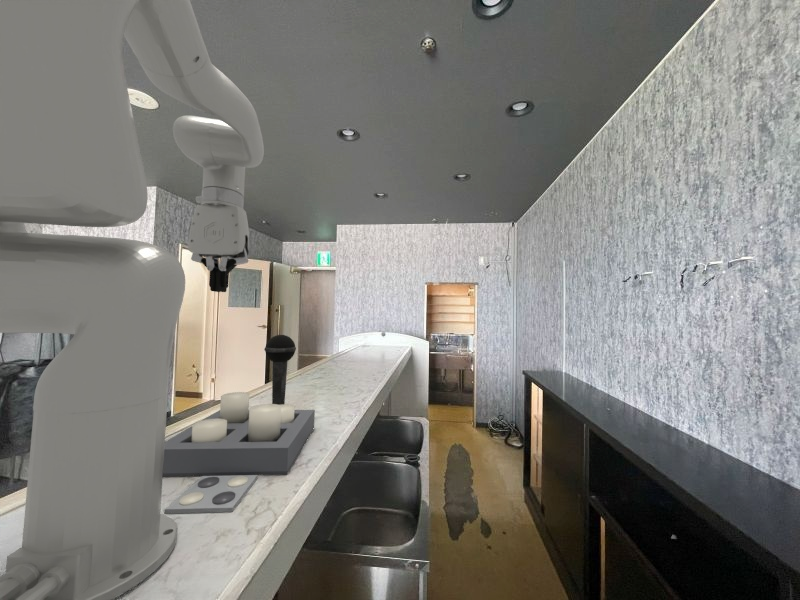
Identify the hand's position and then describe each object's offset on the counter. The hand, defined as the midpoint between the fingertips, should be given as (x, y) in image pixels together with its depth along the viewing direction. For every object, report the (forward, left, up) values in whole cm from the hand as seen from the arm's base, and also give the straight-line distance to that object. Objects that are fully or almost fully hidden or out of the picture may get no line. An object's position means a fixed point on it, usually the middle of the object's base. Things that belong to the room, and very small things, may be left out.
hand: (218, 291), depth 63 cm
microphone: (+9, -10, -29) cm, 32 cm away
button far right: (0, -14, -28) cm, 31 cm away
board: (-5, -9, -29) cm, 31 cm away
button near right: (-9, -13, -26) cm, 30 cm away
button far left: (-1, -5, -26) cm, 26 cm away
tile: (-20, -11, -29) cm, 37 cm away
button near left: (-9, -4, -28) cm, 30 cm away
